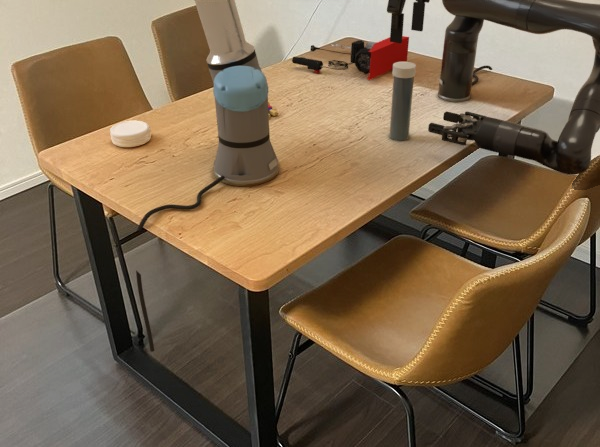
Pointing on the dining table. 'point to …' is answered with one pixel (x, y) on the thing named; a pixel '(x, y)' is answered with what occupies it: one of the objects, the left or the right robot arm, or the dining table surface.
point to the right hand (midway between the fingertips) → (436, 121)
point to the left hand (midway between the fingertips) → (406, 36)
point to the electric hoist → (365, 57)
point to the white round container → (130, 133)
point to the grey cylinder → (401, 108)
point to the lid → (404, 69)
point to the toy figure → (271, 110)
